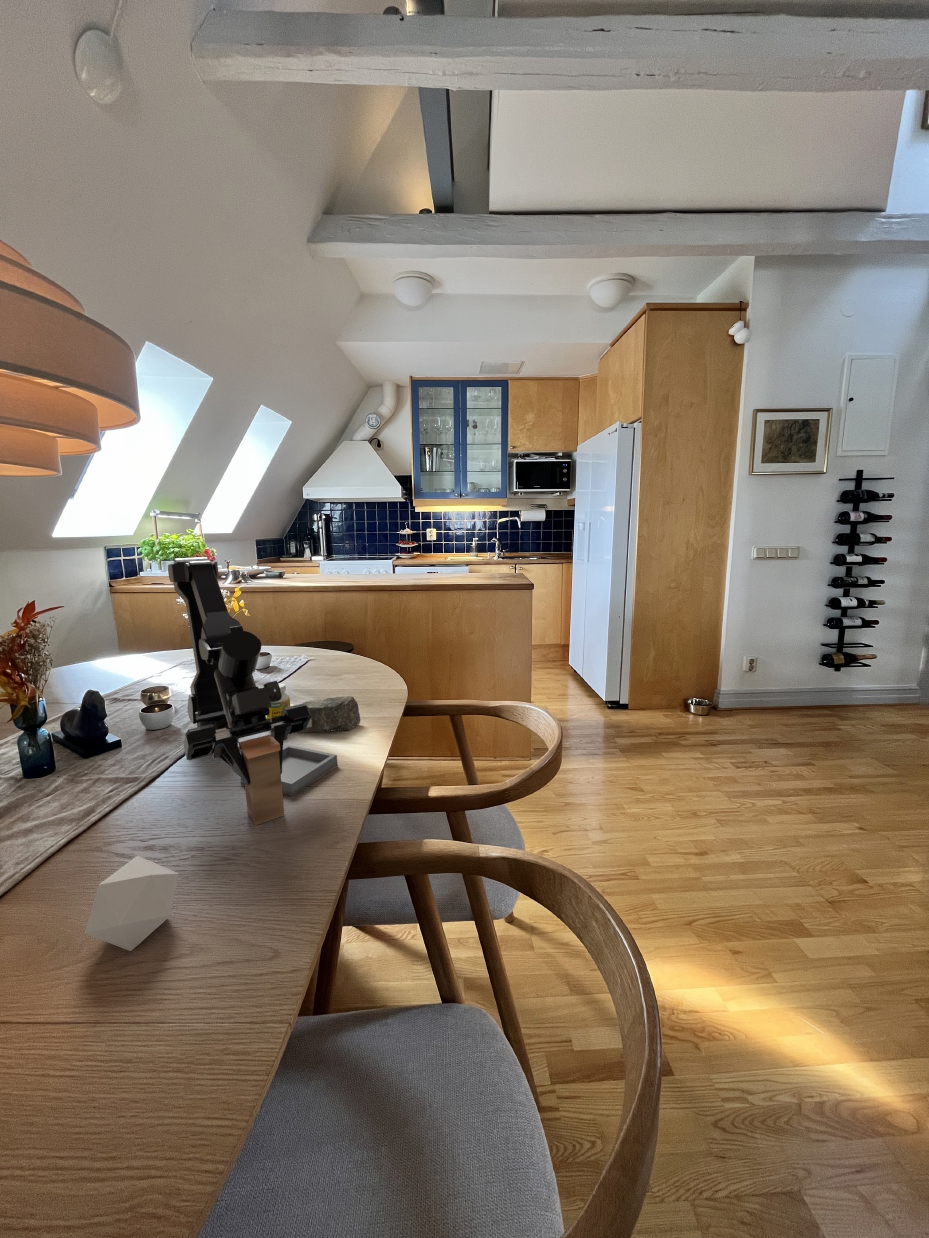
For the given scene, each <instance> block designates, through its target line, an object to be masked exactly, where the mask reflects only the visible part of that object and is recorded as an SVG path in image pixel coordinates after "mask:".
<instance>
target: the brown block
mask: <svg viewBox="0 0 929 1238" xmlns="http://www.w3.org/2000/svg"><path fill="white" fill-rule="evenodd" d="M238 747H239V751H240V753H241V755H242V758H243V760H244V763H245V765H246V768H247V770H248V774H249V778H250V784H249V785H247V784H246V783H245V782H244V783H243V784H244V793H245V801H246V810H247V815H248V817H249V818H250V819H251V820H252V822H253V824H254V825H255V826H257V825H261V824H263V823H265V822H269V821H272V820H274V819H277V818H281V817H283V816H285V808H284V807H285V805H284V797H283V795H284V794H283V793H282V783H281V771H280V760H279V750H280V744H279V743H278V742H277V741H276V740H275V739H274V738H273V737H272V736H271V735H270V734H267V735H263V736H258V737H254V738H250V739H247V740H242V741H238Z"/></svg>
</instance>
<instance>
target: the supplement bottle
mask: <svg viewBox="0 0 929 1238" xmlns="http://www.w3.org/2000/svg"><path fill="white" fill-rule="evenodd" d="M278 684H279V687H280V690H281V695H282V698H281V700H279V701H277V702H272V703H271V705H272V707H269V710H270V713H269V715H266V718H267V719H271V718H275V717H279V716H281V714H282V711H283V708H285V707H290V706H291V697H290V694H289V693H288V692H286V690H287V687H286V684H285V683H281V682H278Z"/></svg>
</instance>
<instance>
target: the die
mask: <svg viewBox="0 0 929 1238" xmlns="http://www.w3.org/2000/svg"><path fill="white" fill-rule="evenodd" d="M179 874H180V873H178V872H176V871H174V870H171V869H170V868H167V867H165V866H162V865H160V864H158V863H155V862H153V861H151V860H148V859H147V858H144V857H142V856H140V855H136V856H135V857H134V858H132V859H131V860H129V861H128V862H127V863H125V864H124V865H123V866H122V867H120V868H119V869H118V870H116V871H115V872H114V873H112V874H111V875H109V876H108V877H107V878H106V879H104V880H102V882H100V883H99V884H98V885H97V890H96V892H95V896H94V899H93V903H92V906H91V910H90V913H89V917H88V920H87V924H86V926H85V927H86V928H85V931H84V934H85V935H88V936H91V937H93V938H95V939H99V941H100V940H101V941H103V942H106V943H108V944H111V945H113V946H115V947H116V946H117V947H119V948H120V949H123V950H126V951H129V952H132V951H133V950H134V949H135V948H136V947H138V946H139V945H140V944H141V943H142V942H143V941H144V940H145V939H147V938H148V937H149V936H150V935H151V934H152V933H153V932H154V931H155V930H156V929H157V928H159V927H160V926H161V925H162V924H163V923H164V922H165V921H167V920H168V918H170V917H171V916H172V912H173V907H174V900H175V896H176V891H177V884H178V881H179V880H178V879H179Z"/></svg>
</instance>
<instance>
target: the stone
mask: <svg viewBox="0 0 929 1238" xmlns="http://www.w3.org/2000/svg"><path fill="white" fill-rule="evenodd" d="M301 704H305V705H306V706H308V707H309V709H310V712H311V715H312V717H311V719H310V721H309V723H308V725H307V727H306V729H305V730H304V731H303V732H304V733H305V732H307V733H308V732H310V733H312V732H317V733H325V732H327V733H328V732H334V731H335V732H338V731H351V730H353V729H354V728H357V726H359V725H360V724H361V714H360V709H359V705H358V701H356V699H355V697H354V696H350V695H349V696H336V697H328V698H325V699H315V700H309V701H308V700H307V701H305V702H302V703H301Z"/></svg>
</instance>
